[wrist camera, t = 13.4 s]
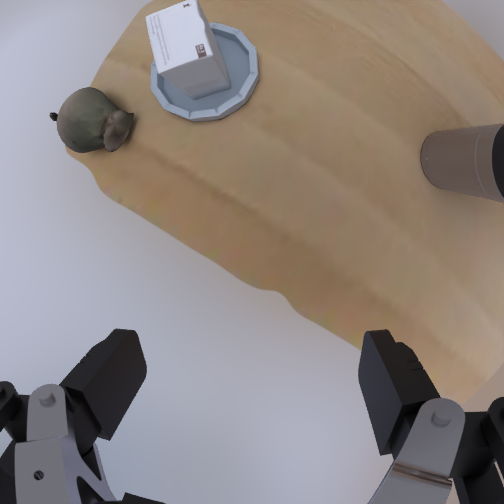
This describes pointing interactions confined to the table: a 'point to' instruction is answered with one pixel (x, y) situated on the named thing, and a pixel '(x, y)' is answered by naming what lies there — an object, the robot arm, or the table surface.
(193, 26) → the skincare box
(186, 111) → the bowl
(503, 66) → the table surface
